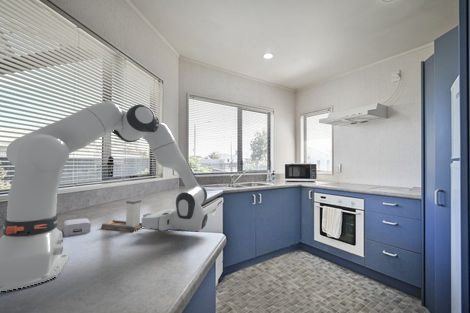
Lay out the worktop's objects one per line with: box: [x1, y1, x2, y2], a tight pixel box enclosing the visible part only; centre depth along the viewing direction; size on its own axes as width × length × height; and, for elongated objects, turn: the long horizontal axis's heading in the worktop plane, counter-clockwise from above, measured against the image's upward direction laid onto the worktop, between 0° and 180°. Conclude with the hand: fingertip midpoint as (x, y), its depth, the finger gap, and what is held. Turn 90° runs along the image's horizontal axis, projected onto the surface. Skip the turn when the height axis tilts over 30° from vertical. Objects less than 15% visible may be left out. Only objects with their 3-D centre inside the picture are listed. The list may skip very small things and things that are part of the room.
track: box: [101, 219, 143, 233], centre depth 106 cm, size 17×8×2 cm, turn 78°
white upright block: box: [125, 199, 142, 227], centre depth 105 cm, size 4×5×12 cm
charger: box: [62, 218, 91, 237], centre depth 100 cm, size 5×9×15 cm
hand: (144, 215), depth 104 cm, fingers closed
